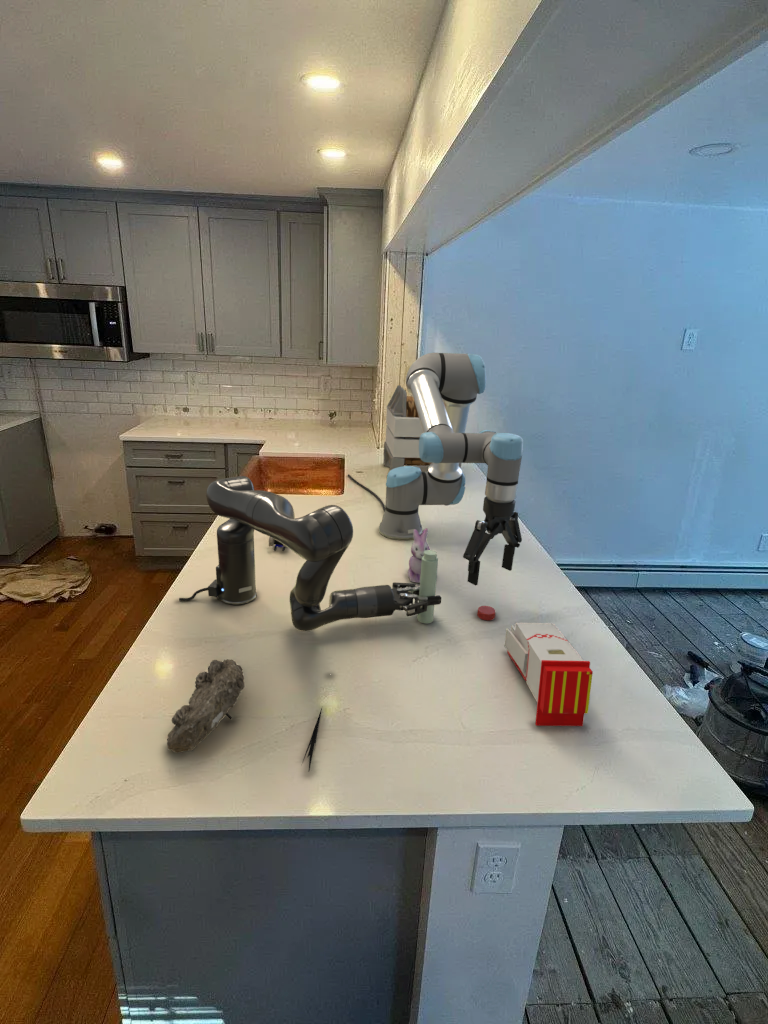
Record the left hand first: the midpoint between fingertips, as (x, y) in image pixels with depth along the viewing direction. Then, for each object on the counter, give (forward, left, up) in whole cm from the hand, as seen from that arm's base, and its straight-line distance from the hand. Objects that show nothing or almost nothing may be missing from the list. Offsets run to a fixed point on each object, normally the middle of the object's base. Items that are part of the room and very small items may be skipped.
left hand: (437, 595), depth 144 cm
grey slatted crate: (-18, +136, -7) cm, 137 cm away
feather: (-19, -43, -7) cm, 48 cm away
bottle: (-2, -1, -7) cm, 7 cm away
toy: (+24, -22, -7) cm, 33 cm away
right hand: (+13, +5, +5) cm, 15 cm away
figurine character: (-53, +35, -7) cm, 64 cm away
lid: (+13, +4, -5) cm, 15 cm away
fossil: (-39, -47, -7) cm, 61 cm away
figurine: (-6, +23, -7) cm, 25 cm away
